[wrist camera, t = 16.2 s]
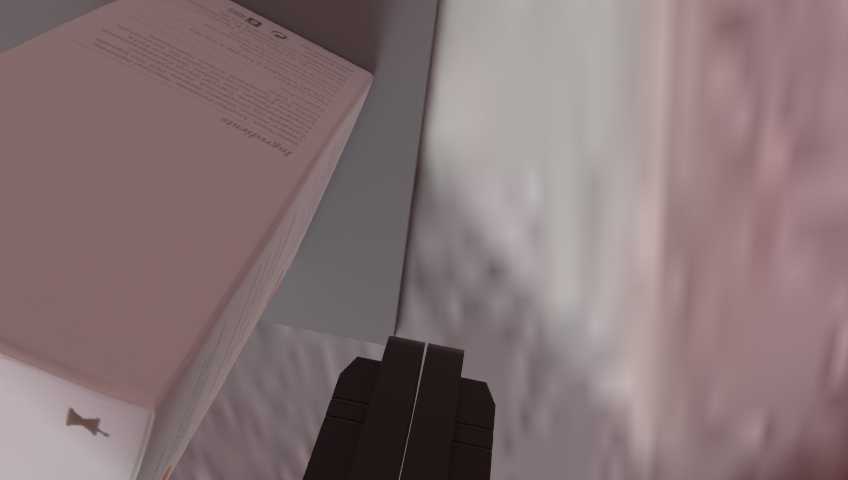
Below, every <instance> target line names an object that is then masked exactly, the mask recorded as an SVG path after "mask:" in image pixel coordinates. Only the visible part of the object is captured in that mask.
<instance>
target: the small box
mask: <svg viewBox="0 0 848 480" xmlns="http://www.w3.org/2000/svg"><path fill="white" fill-rule="evenodd" d="M373 78H374V77H373V75H372V74H371V73H370V72H368V71H366V70H364V69H362V68H360V67H358V66H356V65H354V64H352V63H351V62H349V61H347V60H345V59H343V58H341V57H339V56H337V55H335V54H333V53H331V52H329V51H328V50H326V49H324V48H322V47H320V46H318V45H316V44H314V43H312V42H310V41H308V40H306V39H304V38H303V37H301V36H299V35H297V34H295V33H293V32H291V31H289V30H287V29H285V28H283V27H281V26H279V25H277V24H275V23H273V22H272V21H270V20H268V19H266V18H264V17H262V16H260V15H258V14H256V13H254V12H252V11H250V10H248V9H246V8H244V7H243V6H241V5H239V4H237V3H235V2H233V1H231V0H116V1H114V2H112V3H109V4H107V5H105V6H102V7H100V8H98V9H95V10H93V11H91V12H89V13H87V14H84V15H82V16H80V17H78V18H76V19H73V20H71V21H69V22H67V23H65V24H62V25H60V26H58V27H56V28H54V29H51V30H49V31H47V32H45V33H43V34H41V35H38V36H36V37H34V38H32V39H30V40H28V41H26V42H24V43H22V44H19V45H17V46H15V47H13V48H10V49H8V50H6V51H3V52H1V53H0V480H168V479H169V477H170V475H171V473H172V472H173V470H174V468H175V466H176V465H177V463H178V461H179V459H180V458H181V456H182V454H183V452H184V451H185V449H186V447H187V445H188V444H189V442H190V440H191V438H192V437H193V435H194V433H195V431H196V430H197V428H198V426H199V424H200V423H201V421H202V419H203V417H204V416H205V414H206V412H207V410H208V409H209V407H210V405H211V404H212V402H213V400H214V398H215V397H216V395H217V393H218V391H219V390H220V388H221V386H222V384H223V383H224V381H225V379H226V377H227V375H228V373H229V371H230V370H231V368H232V366H233V364H234V362H235V360H236V358H237V357H238V355H239V353H240V351H241V350H242V348H243V346H244V344H245V343H246V341H247V339H248V337H249V336H250V334H251V332H252V330H253V329H254V327H255V325H256V323H257V322H258V320H259V318H260V316H261V315H262V313H263V311H264V309H265V308H266V306H267V304H268V302H269V301H270V299H271V297H272V295H273V294H274V292H275V290H276V289H277V287H278V285H279V284H280V282H281V280H282V278H283V277H284V275H285V273H286V272H287V270H288V268H289V266H290V265H291V263H292V261H293V259H294V257H295V255H296V253H297V251H298V249H299V247H300V244H301V242H302V240H303V238H304V236H305V234H306V231H307V229H308V227H309V225H310V223H311V221H312V218H313V216H314V214H315V212H316V209H317V207H318V205H319V203H320V201H321V198H322V196H323V194H324V192H325V190H326V187H327V185H328V183H329V181H330V178H331V176H332V174H333V172H334V170H335V167H336V165H337V163H338V161H339V158H340V156H341V154H342V152H343V149H344V147H345V145H346V143H347V141H348V138H349V136H350V134H351V132H352V129H353V127H354V125H355V123H356V120H357V118H358V116H359V113H360V111H361V109H362V106H363V104H364V102H365V99H366V97H367V94H368V92H369V89H370V87H371V84H372V82H373Z"/></svg>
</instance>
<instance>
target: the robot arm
mask: <svg viewBox="0 0 848 480" xmlns="http://www.w3.org/2000/svg"><path fill="white" fill-rule="evenodd" d="M424 347H425V343H424V342H419V341H414V340H409V339H404V338H399V337H394V336H389V338H388V341H387V344H386V348H385V351H384V355H383V358H382V361H377V360H372V359H367V358H362V357H357V358H356V359H355V360H354V361H353V362H352V363H351V364H350V365H349V366H348V367H347V368H346V369H345V370H344V371H343V372H342V373H340V376H339V378H338V381H337V384H336V387H335V390H334V393H333V395H332V400H331V401H330V404H329V407H328V410H327V412H326V416H325V419H324V421H323V424H322V426H321V429H320V432H319V435H318V438H317V441H316V443H315V446H314V449H313V452H312V455H311V458H310V460H309V463H308V466H307V469H306V472H305V474H304V477H303V480H399V476H400V471H401V466H402V462H403V457H404V452H405V447H406V443H407V438H408V433H409V428H410V423H411V419H412V414H413V408H414V403H415V398H416V392H417V387H418V381H419V375H420V370H421V364H422V359H423V353H424ZM463 357H464V350H460V349H455V348H450V347H445V346H440V345H435V344H430V343H428V347H427V352H426V357H425V361H424V366H423V371H422V376H421V381H420V385H419V390H418V395H417V400H416V405H415V409H414V414H413V419H412V424H411V429H410V433H409V438H408V443H407V448H406V453H405V457H404V462H403V467H402V472H401V477H400V480H490V472H491V458H492V453H491V452H492V445H493V430H494V417H495V403H494V401H493V398H492V396H491V393H490V391H489V388H488V386H487V383H486V382H481V381H476V380H471V379H467V378H462V377H461V372H462V365H463Z"/></svg>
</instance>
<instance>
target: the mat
mask: <svg viewBox="0 0 848 480" xmlns="http://www.w3.org/2000/svg"><path fill="white" fill-rule="evenodd" d="M114 1H116V0H0V53H1V52H3V51H6V50H8V49H10V48H13V47H15V46H17V45H19V44H22V43H24V42H26V41H28V40H30V39H32V38H34V37H36V36H38V35H41V34H43V33H45V32H47V31H49V30H51V29H54V28H56V27H58V26H60V25H62V24H65V23H67V22H69V21H71V20H73V19H76V18H78V17H80V16H82V15H84V14H87V13H89V12H91V11H93V10H95V9H98V8H100V7H102V6H105V5H107V4H109V3H112V2H114ZM231 1H233V2H235V3H237V4H239V5H241V6H243V7H244V8H246V9H248V10H250V11H252V12H254V13H256V14H258V15H260V16H262V17H264V18H266V19H268V20H270V21H272V22H273V23H275V24H277V25H279V26H281V27H283V28H285V29H287V30H289V31H291V32H293V33H295V34H297V35H299V36H301V37H303V38H304V39H306V40H308V41H310V42H312V43H314V44H316V45H318V46H320V47H322V48H324V49H326V50H328V51H329V52H331V53H333V54H335V55H337V56H339V57H341V58H343V59H345V60H347V61H349V62H351V63H352V64H354V65H356V66H358V67H360V68H362V69H364V70H366V71H368V72H370V73H371V74H372V75H373V77H374V78H373V82H372V84H371V87H370V89H369V92H368V94H367V97H366V99H365V102H364V104H363V106H362V109H361V111H360V113H359V116H358V118H357V120H356V123H355V125H354V127H353V129H352V132H351V134H350V136H349V138H348V141H347V143H346V145H345V147H344V149H343V152H342V154H341V156H340V158H339V161H338V163H337V165H336V167H335V170H334V172H333V174H332V176H331V178H330V181H329V183H328V185H327V187H326V190H325V192H324V194H323V196H322V198H321V201H320V203H319V205H318V207H317V209H316V212H315V214H314V216H313V218H312V221H311V223H310V225H309V227H308V229H307V231H306V234H305V236H304V238H303V240H302V242H301V244H300V247H299V249H298V251H297V253H296V255H295V257H294V259H293V261H292V263H291V265H290V266H289V268H288V270H287V272H286V273H285V275H284V277H283V278H282V280H281V282H280V284H279V285H278V287H277V289H276V290H275V292H274V294H273V295H272V297H271V299H270V301H269V302H268V304H267V306H266V308H265V309H264V311H263V313H262V315H261V316H260V318H259V320H262V321H267V322H272V323H277V324H282V325H287V326H292V327H297V328H302V329H307V330H312V331H317V332H322V333H327V334H332V335H337V336H342V337H348V338H353V339H358V340H363V341H368V342H373V343H378V344H383V345H386V344H387V341H388V338H389V336H394V337H395V332H396V325H397V317H398V310H399V302H400V294H401V287H402V279H403V272H404V264H405V257H406V249H407V242H408V234H409V226H410V219H411V211H412V204H413V196H414V189H415V181H416V174H417V166H418V158H419V151H420V143H421V136H422V128H423V121H424V113H425V106H426V98H427V90H428V83H429V75H430V68H431V60H432V53H433V45H434V37H435V30H436V22H437V15H438V7H439V0H231Z"/></svg>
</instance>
